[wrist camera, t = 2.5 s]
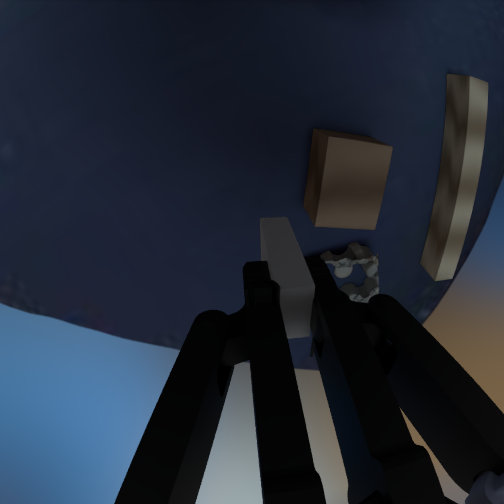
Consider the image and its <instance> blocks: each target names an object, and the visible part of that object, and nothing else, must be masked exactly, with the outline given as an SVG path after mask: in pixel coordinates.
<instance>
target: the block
mask: <svg viewBox="0 0 504 504" xmlns="http://www.w3.org/2000/svg"><path fill="white" fill-rule="evenodd" d="M392 149H393V147H392V146H389V145H387V144H385V143H383V142H381V141H378V140H376V139H374V138H372V137H368V136H362V135H356V134H350V133H344V132H337V131H330V130H323V129H315V128H313V136H312V144H311V152H310V160H309V168H308V175H307V183H306V190H305V197H304V204H303V206H304V208H305V210H306V212H307V213H308V215H309V217H310V219H311V220H312V222H313V224H314V226H315V227H334V228H352V229H368V230H375V227H376V223H377V219H378V215H379V211H380V207H381V202H382V198H383V194H384V189H385V185H386V180H387V175H388V170H389V165H390V160H391V155H392Z"/></svg>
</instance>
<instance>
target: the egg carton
mask: <svg viewBox="0 0 504 504" xmlns="http://www.w3.org/2000/svg"><path fill="white" fill-rule="evenodd" d="M320 258H321V259H322V260H324V261H325V263H331V264H333V265H334V266H335V267H336V268H335V275H336V276H337V277H340V278H344V277H347V276H349V275H350V274H351V272H352V270H353V267H352V265H354V264H361V266H362V267H363V269H364V271H365V273H366V274H367V276H368V277H367V278H366V279H365V281H364V285H362V286H360V287H356V286H355V285H354V284H352V283H347V284H345V285H343V286H342V287H341V288H340V290H341V291H343V292H345V293H346V294H347V295H348V296H349V298H350V300H352V301H357V302H365V303H368V301H369V299H370V297H371V296H373V295H376V294H378V293H379V284H378V279H379V277H378V272H377V266H378V254H377V255H376V257H374V255H373V254H372V252H371V251H370V250H369V248H368V247H367V246H360V245H359V244H358V243H357V242H353V243H350V244H348V248H347V250H346V251H345V252H344V253H343V254H341V255H333V254H332V253H331V252H330V251H326V252H325V253H323V254H321V256H320Z"/></svg>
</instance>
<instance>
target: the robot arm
mask: <svg viewBox="0 0 504 504" xmlns="http://www.w3.org/2000/svg"><path fill="white" fill-rule="evenodd" d="M260 230H261V261H253V262H246V264H245V265H244V267H243V282H244V296H245V304H244V306H243V307H242V309H241V310H239V311H238V312H236V313H233V314H230V315H227V314H225V313H224V312H222V311H219V310H208V311H204V312H202V313H200V314H199V315H198V316H197V317H196V318H195V320H194V322H193V324H192V326H191V328H190V331H189V333H188V335H187V337H186V339H185V342H184V344H183V346H182V348H181V350H180V352H179V355H178V357H177V359H176V361H175V364H174V366H173V368H172V370H171V372H170V375H169V377H168V380H167V381H166V384H165V386H164V388H163V390H162V393H161V395H160V397H159V399H158V402H157V404H156V406H155V409H154V411H153V413H152V415H151V418H150V420H149V422H148V424H147V427H146V429H145V431H144V434H143V436H142V439H141V441H140V443H139V446H138V448H137V450H136V453H135V455H134V457H133V459H132V462H131V464H130V467H129V469H128V472H127V474H126V477H125V479H124V481H123V483H122V486H121V488H120V491H119V493H118V496H117V498H116V501H115V503H114V504H195V502H196V499H197V496H198V492H199V489H200V485H201V482H202V479H203V475H204V472H205V469H206V465H207V461H208V458H209V455H210V451H211V448H212V444H213V441H214V438H215V434H216V431H217V427H218V424H219V420H220V417H221V413H222V410H223V406H224V402H225V399H226V395H227V392H228V388H229V385H230V381H231V378H232V374H233V370H234V365H236V364H238V363H241V362H244V361H247V360H250V371H251V381H252V393H253V405H254V414H255V426H256V437H257V447H258V457H259V468H260V478H261V487H262V498H263V504H326V500H325V495H324V490H323V485H322V482H321V478H320V476H319V474H318V473H317V472H316V470H315V467H314V463H313V458H312V453H311V448H310V443H309V438H308V433H307V429H306V423H305V418H304V414H303V409H302V404H301V399H300V395H299V390H298V385H297V380H296V376H295V371H294V366H293V362H292V357H291V353H290V348H289V343H288V339H289V338H299V337H308V336H310V329H311V330H312V334H313V338H312V346H311V353H310V357H313V353H315V357H316V360H317V364H318V368H319V371H320V375H321V378H322V382H323V386H324V389H325V393H326V397H327V400H328V404H329V408H330V412H331V416H332V419H333V423H334V427H335V431H336V435H337V439H338V443H339V446H340V450H341V455H342V459H343V463H344V467H345V471H346V475H347V479H348V503H349V504H457V503H456V502H454V501H452V500H450V499H449V498H447V497H445V496H444V494H443V491H442V488H441V485H440V482H439V479H438V477H437V474H436V471H435V469H434V466H433V463H432V460H431V458H430V455H429V453H428V451H427V450H426V449H425V448H424V447H423V446H420V445H416V444H415V443H414V442H413V440H412V437H411V435H410V432H409V430H408V427H407V425H406V422H405V420H404V417H403V415H402V412H401V410H402V411H403V412H404V414H405V415H406V416H407V418H408V419H409V420H410V422H411V423H412V425H413V426H414V427H415V429H416V430H417V431H418V433H419V434H420V435H421V437H422V438H423V440H424V441H425V442H426V444H427V445H428V447H429V448H430V449H431V451H432V452H433V454H434V455H435V456H436V458H437V459H438V460H439V462H440V463H441V465H442V466H443V468H444V469H445V470H446V472H447V473H448V474H449V476H450V477H451V478H452V479H453V481H454V482H455V483H456V484H457V485H458V486H459V487H461V488H462V489H463V490H464V491H465V492H467V493H468V494H469V496H468V497H467V498H466V500H465V504H504V414H503V413H502V411H501V410H500V409H499V408H498V407H497V406H496V404H495V403H494V402H493V401H492V400H491V399H490V397H488V395H487V394H486V393H485V392H484V391H483V389H481V387H480V386H479V385H478V384H477V383H476V382H475V381H474V379H473V378H472V377H471V376H470V375H469V374H468V373H467V372H466V371H465V370H464V369H463V368H462V366H461V365H460V364H459V363H458V362H457V361H456V360H455V359H454V358H453V357H452V356H451V355H450V354H449V353H448V352H447V350H446V349H445V348H444V347H443V346H442V345H441V344H440V343H439V342H438V341H437V340H436V339H435V338H434V337H433V336H432V335H431V334H430V333H429V332H428V331H427V330H426V329H425V328H424V327H423V326H422V325H421V324H420V323H419V322H418V321H417V320H416V319H415V318H414V317H413V316H412V315H411V314H410V313H409V312H408V311H407V310H406V309H405V308H404V307H403V306H402V305H401V304H400V303H399V302H398V301H397V300H396V299H394V298H393V297H391V296H389V295H386V294H376V295H373V296H371V297H370V299H369V301H368V303H365V302H357V301H352V300H350V298H349V296H348V295H347V294H346V293H345V292H343V291H341V290H339V289H338V287H337V285H336V283H335V281H334V279H333V277H332V275H331V274H330V271H329V269H328V267H327V265H326V263H325V261H324V260H322V259H321V258H320V257H318V256H315V257H303V254H302V252H301V250H300V247H299V245H298V242H297V240H296V237H295V235H294V233H293V230H292V228H291V226H290V223H289V221H288V219H287V217H274V218H260ZM388 340H389V341H390V342H391V343H392V344H391V343H390V342H389V341H388ZM400 408H401V410H400Z"/></svg>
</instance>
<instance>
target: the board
mask: <svg viewBox="0 0 504 504" xmlns="http://www.w3.org/2000/svg"><path fill="white" fill-rule="evenodd" d="M487 102H488V83H487V82H485V81H482V80H479V79H477V78H474V77H471V76H465V75H454V74H447V91H446V113H445V127H444V138H443V147H442V156H441V163H440V171H439V177H438V184H437V190H436V195H435V201H434V206H433V211H432V216H431V221H430V225H429V230H428V234H427V238H426V243H425V247H424V251H423V254H422V258H421V262H420V264H421V265H422V266H423V267H424V269H425V270H426V271H427V272H428V273H429V274H430V276H431V277H432V278H433V279H434V280H435V281H438V280H445V279H452V278H453V275H454V272H455V269H456V266H457V263H458V260H459V257H460V253H461V250H462V247H463V243H464V240H465V236H466V233H467V229H468V225H469V221H470V217H471V213H472V209H473V204H474V200H475V195H476V190H477V185H478V180H479V174H480V168H481V162H482V155H483V147H484V139H485V130H486V118H487Z"/></svg>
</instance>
